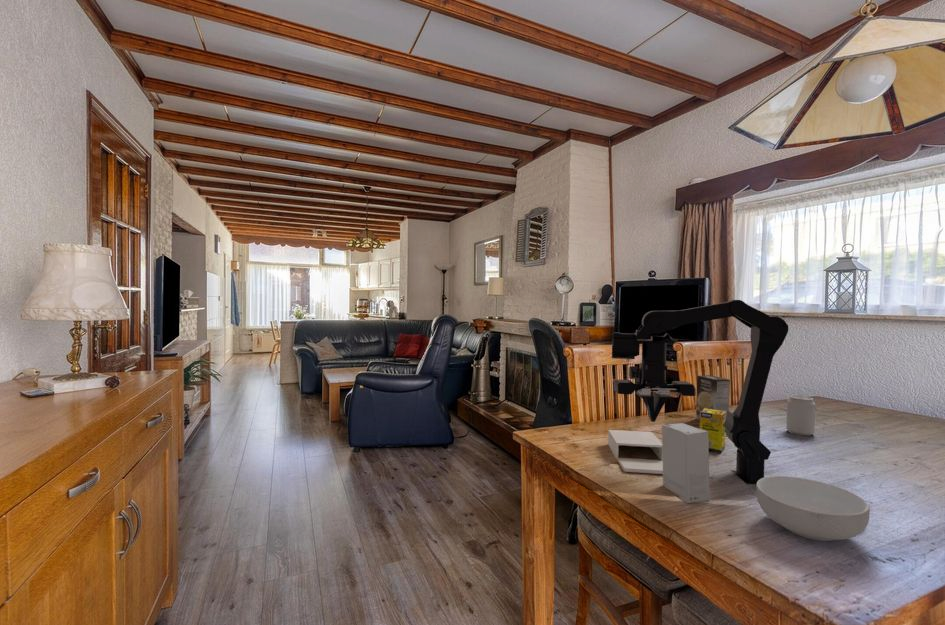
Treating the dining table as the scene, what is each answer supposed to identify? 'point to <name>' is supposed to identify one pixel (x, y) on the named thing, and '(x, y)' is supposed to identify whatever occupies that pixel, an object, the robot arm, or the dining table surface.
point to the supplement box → (714, 428)
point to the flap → (641, 465)
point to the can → (801, 415)
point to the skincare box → (686, 462)
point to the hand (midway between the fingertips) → (652, 421)
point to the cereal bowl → (812, 508)
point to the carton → (634, 441)
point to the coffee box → (712, 394)
